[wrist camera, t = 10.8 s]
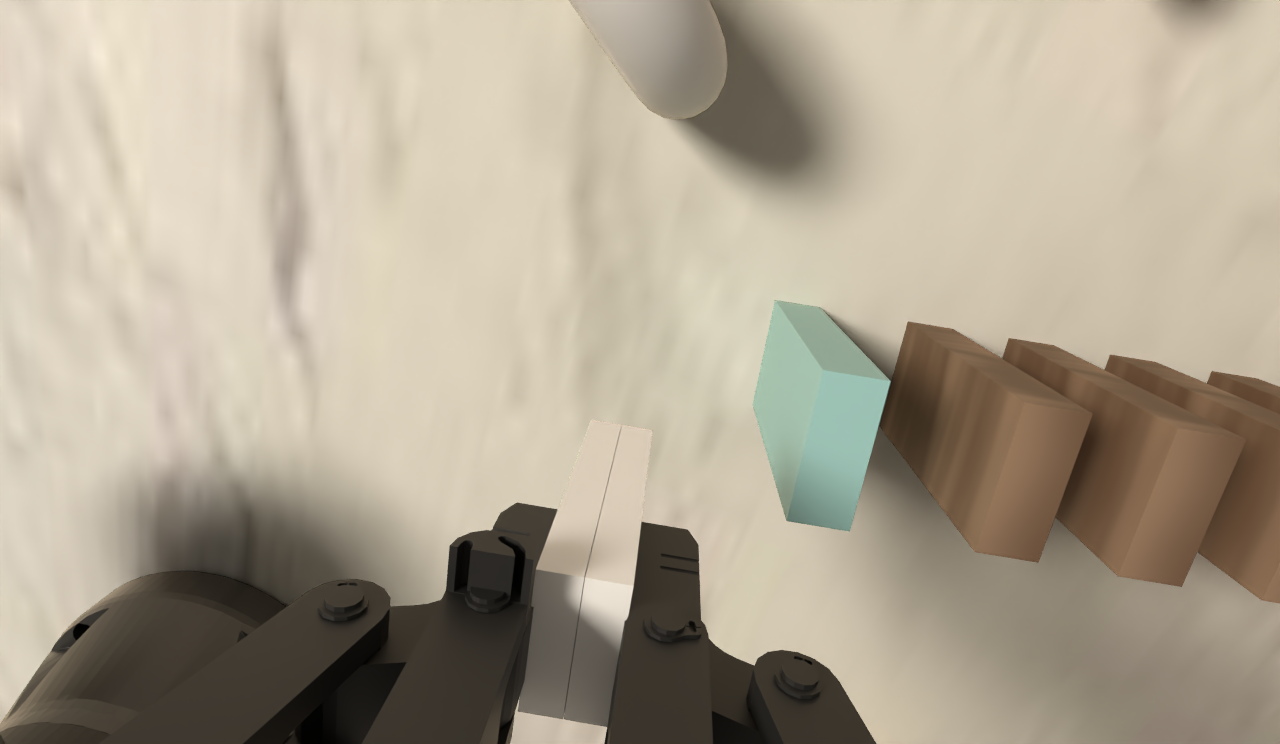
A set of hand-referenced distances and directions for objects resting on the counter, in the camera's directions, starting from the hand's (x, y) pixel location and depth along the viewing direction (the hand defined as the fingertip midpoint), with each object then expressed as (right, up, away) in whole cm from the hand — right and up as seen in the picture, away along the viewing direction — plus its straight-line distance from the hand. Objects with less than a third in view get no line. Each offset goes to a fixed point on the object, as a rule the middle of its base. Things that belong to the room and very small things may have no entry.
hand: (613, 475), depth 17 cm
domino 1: (+13, +2, +14) cm, 20 cm away
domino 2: (+18, +2, +14) cm, 23 cm away
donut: (0, +17, +11) cm, 20 cm away
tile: (+7, +3, +14) cm, 16 cm away
